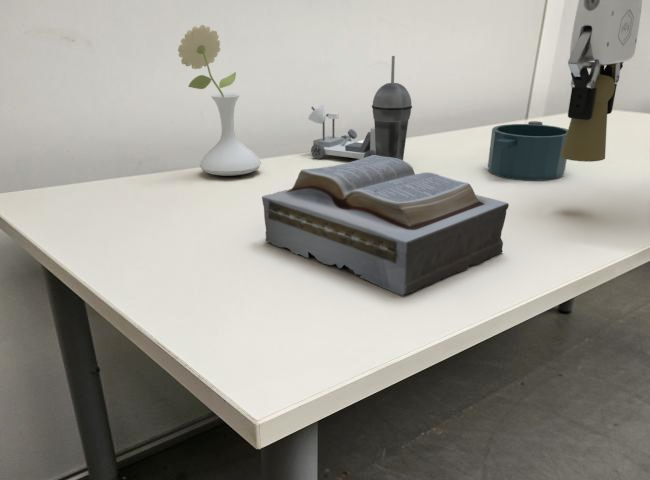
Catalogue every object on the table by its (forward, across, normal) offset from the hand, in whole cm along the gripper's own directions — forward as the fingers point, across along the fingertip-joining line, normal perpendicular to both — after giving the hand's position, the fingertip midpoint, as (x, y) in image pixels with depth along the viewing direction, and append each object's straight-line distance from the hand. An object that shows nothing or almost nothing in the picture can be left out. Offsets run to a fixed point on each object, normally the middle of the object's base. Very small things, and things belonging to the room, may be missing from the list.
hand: (589, 114), depth 85 cm
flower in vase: (+13, -24, +56) cm, 62 cm away
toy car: (+14, +3, +50) cm, 52 cm away
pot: (+14, +17, +18) cm, 29 cm away
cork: (+6, 0, 0) cm, 6 cm away
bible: (+13, -33, +9) cm, 37 cm away
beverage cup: (+14, -1, +36) cm, 39 cm away
